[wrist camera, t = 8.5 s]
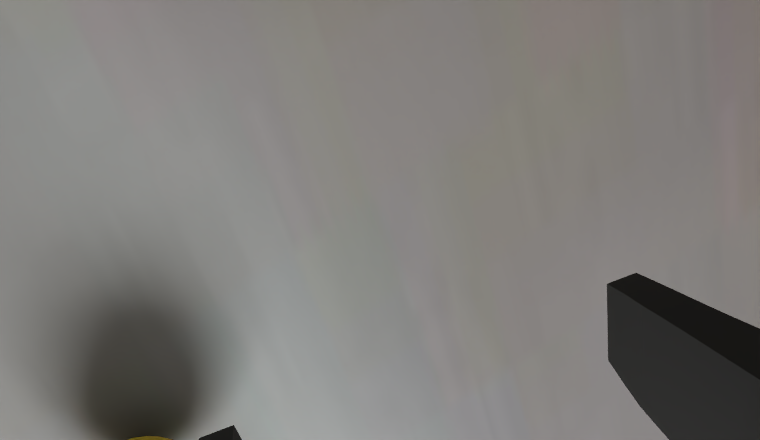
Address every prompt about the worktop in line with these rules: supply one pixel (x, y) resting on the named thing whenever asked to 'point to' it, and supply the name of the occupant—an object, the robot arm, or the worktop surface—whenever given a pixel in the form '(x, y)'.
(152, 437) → the lemon
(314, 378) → the worktop surface
